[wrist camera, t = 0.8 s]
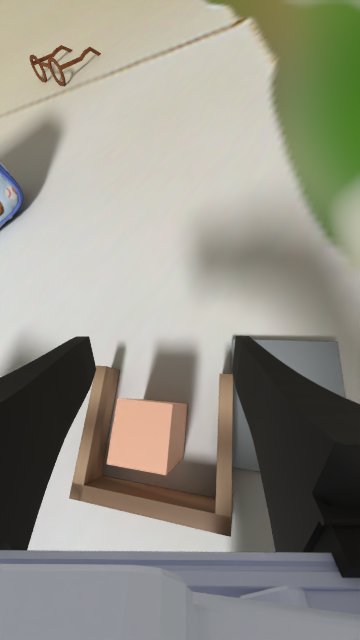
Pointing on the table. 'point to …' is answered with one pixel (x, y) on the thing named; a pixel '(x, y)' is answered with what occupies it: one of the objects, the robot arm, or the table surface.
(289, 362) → the slate mat
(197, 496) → the walnut stall
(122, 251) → the table surface
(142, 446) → the terracotta block
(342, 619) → the robot arm
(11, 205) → the lunch box
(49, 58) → the glasses
